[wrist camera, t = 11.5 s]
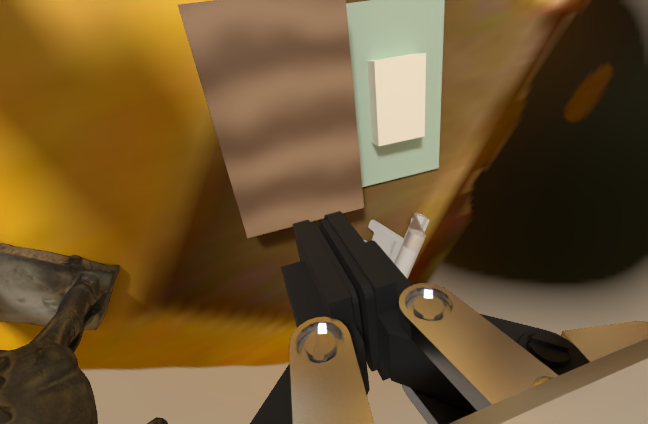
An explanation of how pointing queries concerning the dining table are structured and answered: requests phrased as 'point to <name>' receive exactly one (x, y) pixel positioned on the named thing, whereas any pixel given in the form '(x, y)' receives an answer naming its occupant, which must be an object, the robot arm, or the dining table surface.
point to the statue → (50, 334)
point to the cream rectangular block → (397, 98)
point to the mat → (385, 42)
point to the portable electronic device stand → (401, 242)
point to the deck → (280, 105)
